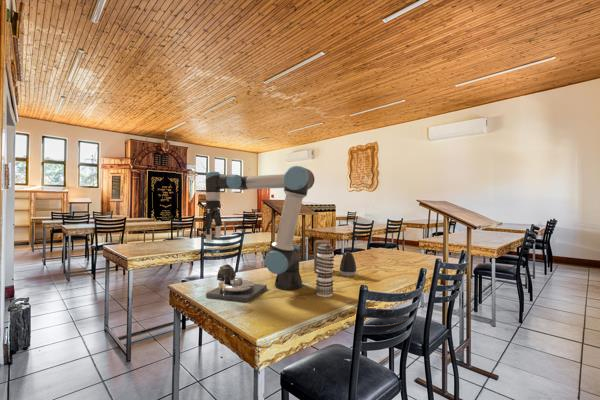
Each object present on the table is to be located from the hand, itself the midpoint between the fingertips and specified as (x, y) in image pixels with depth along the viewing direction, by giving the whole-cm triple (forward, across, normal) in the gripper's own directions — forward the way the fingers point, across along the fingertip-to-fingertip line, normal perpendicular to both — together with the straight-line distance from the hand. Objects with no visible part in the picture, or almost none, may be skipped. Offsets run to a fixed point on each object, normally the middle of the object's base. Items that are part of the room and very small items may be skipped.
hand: (213, 239), depth 161 cm
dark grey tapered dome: (+27, -30, +74) cm, 85 cm away
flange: (+23, +10, +15) cm, 29 cm away
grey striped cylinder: (+27, -40, +58) cm, 76 cm away
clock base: (+26, +10, +16) cm, 32 cm away
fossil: (+26, -15, +2) cm, 30 cm away
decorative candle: (+27, +8, +60) cm, 66 cm away
